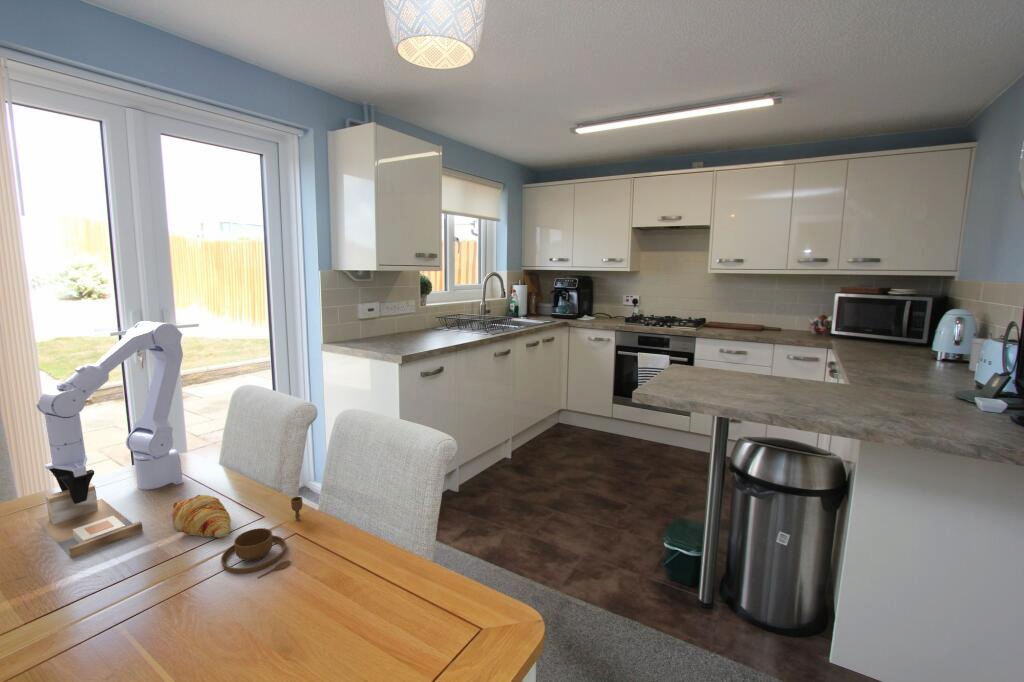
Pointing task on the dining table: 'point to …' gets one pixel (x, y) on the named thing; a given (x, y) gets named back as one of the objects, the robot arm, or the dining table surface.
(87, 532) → the tile
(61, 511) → the light wood block
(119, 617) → the dining table surface
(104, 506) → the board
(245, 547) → the place setting
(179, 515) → the croissant
